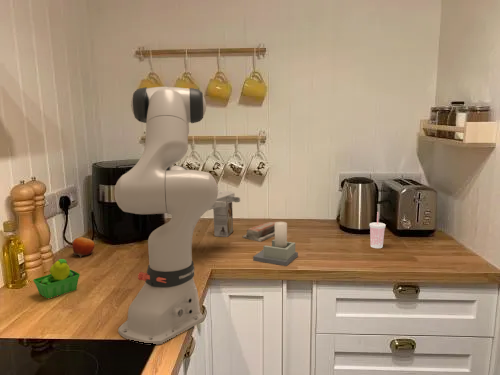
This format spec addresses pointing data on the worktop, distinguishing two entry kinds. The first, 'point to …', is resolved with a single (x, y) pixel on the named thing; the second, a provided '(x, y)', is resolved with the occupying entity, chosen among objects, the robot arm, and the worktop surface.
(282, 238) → the tall white cylinder
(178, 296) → the robot arm
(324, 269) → the worktop surface
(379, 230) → the beverage cup
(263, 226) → the packaged product
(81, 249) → the fruit
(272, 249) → the cradle jig
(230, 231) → the coffee box
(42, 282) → the fruit basket
